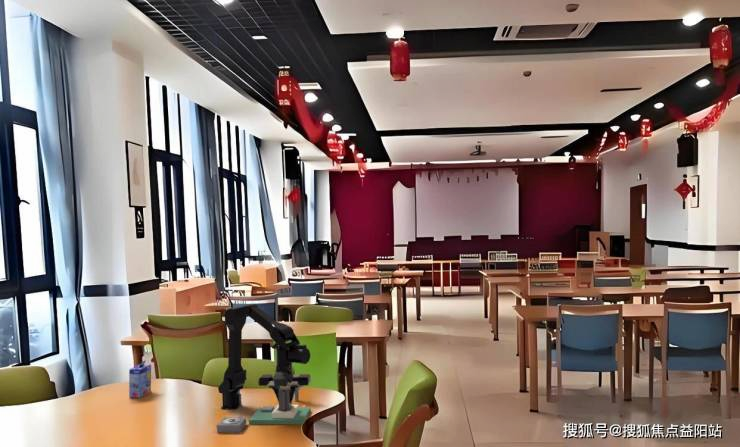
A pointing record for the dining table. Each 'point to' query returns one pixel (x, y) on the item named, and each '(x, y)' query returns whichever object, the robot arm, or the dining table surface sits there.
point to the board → (280, 415)
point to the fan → (231, 425)
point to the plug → (284, 398)
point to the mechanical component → (296, 389)
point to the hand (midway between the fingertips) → (285, 402)
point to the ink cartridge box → (140, 380)
